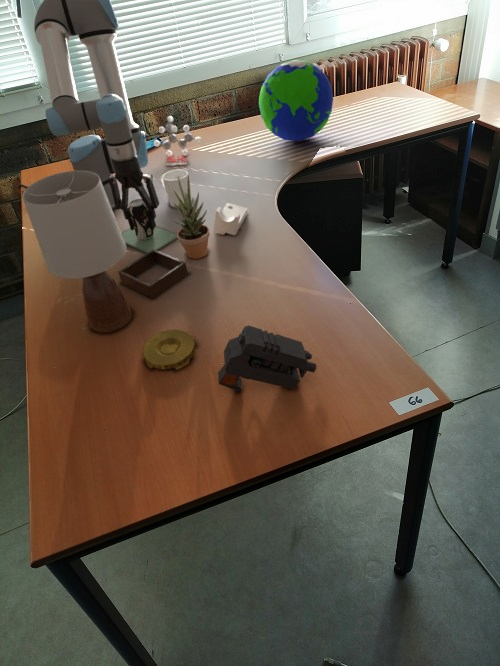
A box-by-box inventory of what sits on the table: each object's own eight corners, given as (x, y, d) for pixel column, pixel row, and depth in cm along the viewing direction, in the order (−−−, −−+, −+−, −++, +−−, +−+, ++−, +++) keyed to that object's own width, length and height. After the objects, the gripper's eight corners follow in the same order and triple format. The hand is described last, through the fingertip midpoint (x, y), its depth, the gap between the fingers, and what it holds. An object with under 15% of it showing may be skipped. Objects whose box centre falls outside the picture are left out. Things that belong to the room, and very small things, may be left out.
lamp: (86, 299, 139) (35, 172, 115) (152, 295, 137) (114, 164, 113) (66, 345, 125) (2, 211, 101) (138, 341, 123) (92, 203, 99)
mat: (114, 239, 163) (114, 237, 163) (142, 223, 170) (142, 221, 169) (150, 254, 154) (150, 253, 153) (178, 237, 160) (178, 235, 160)
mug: (197, 198, 179) (192, 170, 173) (185, 209, 174) (179, 181, 167) (172, 195, 184) (165, 167, 177) (158, 206, 178) (152, 178, 171)
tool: (211, 370, 109) (238, 319, 100) (290, 389, 115) (321, 343, 107) (212, 390, 104) (240, 339, 96) (294, 410, 111) (327, 363, 102)
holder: (121, 283, 143) (117, 271, 141) (156, 260, 151) (153, 249, 148) (152, 298, 136) (149, 286, 134) (188, 274, 143) (185, 262, 141)
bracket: (234, 238, 158) (238, 217, 152) (213, 231, 158) (215, 211, 153) (246, 217, 167) (249, 197, 162) (226, 211, 167) (228, 191, 162)
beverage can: (145, 243, 158) (136, 208, 150) (133, 238, 161) (123, 204, 153) (158, 234, 161) (149, 200, 153) (146, 230, 164) (137, 196, 156)
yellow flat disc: (187, 373, 113) (186, 366, 112) (138, 370, 116) (135, 363, 114) (200, 337, 122) (199, 330, 121) (154, 335, 124) (152, 328, 123)
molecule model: (154, 173, 207) (143, 140, 194) (159, 149, 216) (149, 116, 203) (201, 170, 205) (193, 136, 192) (205, 146, 213) (198, 112, 200)
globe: (304, 121, 227) (302, 47, 207) (348, 138, 206) (349, 57, 187) (248, 140, 217) (240, 64, 197) (288, 160, 196) (283, 77, 177)
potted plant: (199, 241, 157) (184, 164, 140) (219, 251, 151) (206, 172, 135) (174, 255, 152) (155, 178, 136) (193, 266, 146) (177, 186, 130)
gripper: (88, 162, 143) (111, 234, 158) (151, 160, 139) (168, 234, 154) (98, 152, 149) (119, 222, 164) (159, 150, 145) (175, 221, 160)
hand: (143, 227), depth 159 cm, fingers open, 6 cm apart
